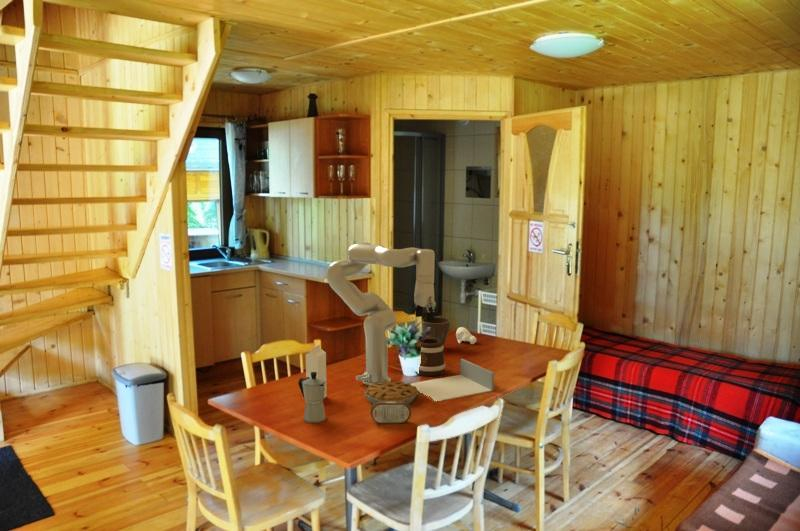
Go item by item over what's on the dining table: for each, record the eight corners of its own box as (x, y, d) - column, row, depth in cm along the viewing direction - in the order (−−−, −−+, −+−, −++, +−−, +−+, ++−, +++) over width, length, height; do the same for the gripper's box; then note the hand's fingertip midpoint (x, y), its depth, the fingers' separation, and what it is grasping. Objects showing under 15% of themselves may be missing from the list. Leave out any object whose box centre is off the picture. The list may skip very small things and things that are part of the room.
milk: (306, 399, 252) (305, 346, 249) (314, 394, 258) (313, 343, 255) (318, 401, 249) (317, 348, 247) (327, 396, 255) (325, 345, 252)
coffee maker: (334, 419, 230) (333, 373, 228) (316, 426, 224) (315, 378, 221) (308, 409, 240) (307, 365, 238) (291, 416, 233) (289, 370, 231)
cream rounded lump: (460, 325, 346) (479, 330, 340) (459, 339, 348) (478, 344, 341) (455, 327, 341) (474, 332, 335) (453, 342, 343) (472, 347, 336)
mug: (452, 373, 287) (452, 341, 285) (427, 379, 278) (428, 347, 276) (424, 363, 303) (425, 333, 301) (400, 368, 294) (400, 338, 292)
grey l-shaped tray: (435, 403, 249) (435, 382, 248) (407, 386, 270) (407, 367, 269) (493, 392, 263) (493, 372, 261) (462, 376, 284) (462, 358, 282)
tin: (411, 421, 229) (411, 399, 228) (411, 424, 226) (411, 402, 225) (370, 421, 229) (370, 399, 227) (370, 424, 225) (370, 402, 224)
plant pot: (450, 353, 322) (451, 323, 320) (422, 353, 321) (422, 323, 319) (448, 345, 336) (448, 317, 334) (421, 345, 336) (421, 317, 334)
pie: (401, 412, 238) (401, 400, 237) (354, 402, 249) (354, 390, 248) (427, 395, 257) (427, 384, 256) (382, 387, 268) (382, 376, 267)
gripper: (407, 276, 263) (407, 315, 265) (427, 282, 247) (426, 324, 250) (423, 275, 266) (422, 314, 268) (443, 281, 250) (442, 322, 253)
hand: (424, 318), depth 259 cm, fingers open, 9 cm apart
